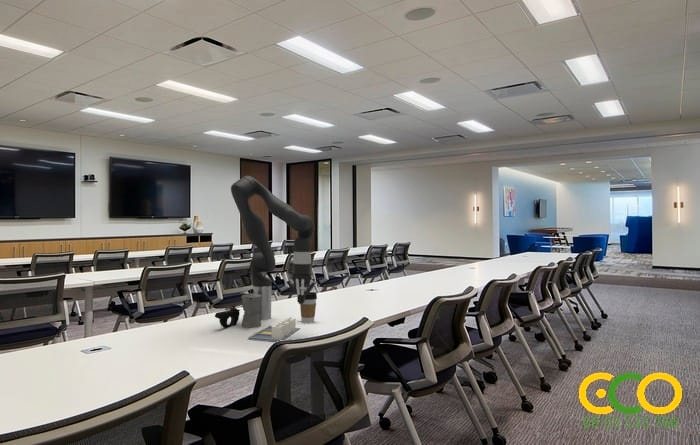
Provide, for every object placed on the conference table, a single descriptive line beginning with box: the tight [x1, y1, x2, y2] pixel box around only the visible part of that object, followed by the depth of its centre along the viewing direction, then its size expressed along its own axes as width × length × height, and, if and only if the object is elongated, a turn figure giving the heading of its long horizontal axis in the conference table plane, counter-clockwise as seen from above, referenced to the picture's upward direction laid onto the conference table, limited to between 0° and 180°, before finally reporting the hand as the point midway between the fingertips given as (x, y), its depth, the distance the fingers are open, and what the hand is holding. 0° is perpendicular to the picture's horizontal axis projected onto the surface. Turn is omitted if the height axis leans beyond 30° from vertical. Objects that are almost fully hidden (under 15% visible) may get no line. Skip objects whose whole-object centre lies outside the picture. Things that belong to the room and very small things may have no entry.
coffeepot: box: [241, 288, 262, 329], centre depth 203 cm, size 15×9×18 cm, turn 8°
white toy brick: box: [271, 323, 285, 339], centre depth 182 cm, size 4×4×6 cm
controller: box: [214, 304, 241, 329], centre depth 202 cm, size 4×12×10 cm, turn 145°
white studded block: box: [283, 316, 297, 331], centre depth 194 cm, size 4×4×6 cm
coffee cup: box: [299, 291, 318, 324], centre depth 213 cm, size 8×8×15 cm
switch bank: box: [246, 325, 301, 343], centre depth 189 cm, size 14×24×2 cm, turn 167°
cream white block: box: [277, 319, 290, 335], centre depth 188 cm, size 4×4×6 cm
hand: (301, 303), depth 186 cm, fingers closed
